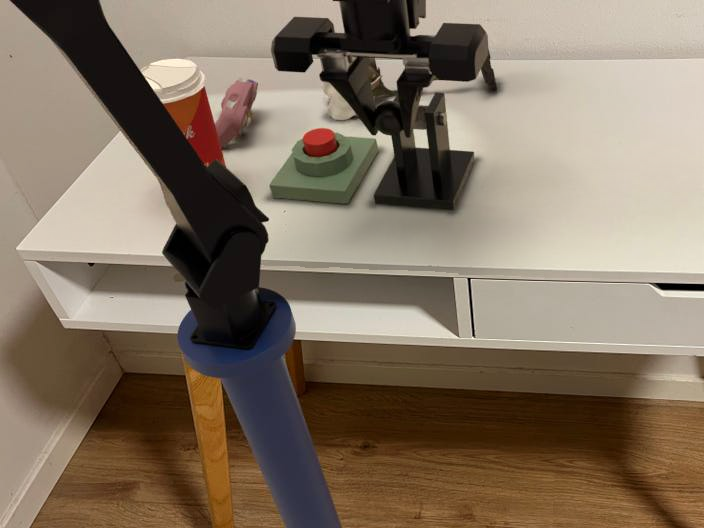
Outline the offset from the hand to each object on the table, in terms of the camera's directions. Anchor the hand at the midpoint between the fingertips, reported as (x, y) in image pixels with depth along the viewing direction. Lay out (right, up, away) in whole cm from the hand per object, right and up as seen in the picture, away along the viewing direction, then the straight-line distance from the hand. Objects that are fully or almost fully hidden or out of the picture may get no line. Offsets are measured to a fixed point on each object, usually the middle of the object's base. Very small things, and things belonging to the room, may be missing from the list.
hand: (392, 134), depth 76 cm
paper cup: (-23, -2, +15) cm, 27 cm away
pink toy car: (-22, +7, +24) cm, 33 cm away
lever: (+1, +1, +3) cm, 4 cm away
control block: (-9, 0, +15) cm, 18 cm away
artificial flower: (0, +12, +26) cm, 29 cm away
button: (-9, +2, +13) cm, 16 cm away
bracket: (+2, -2, +13) cm, 13 cm away
